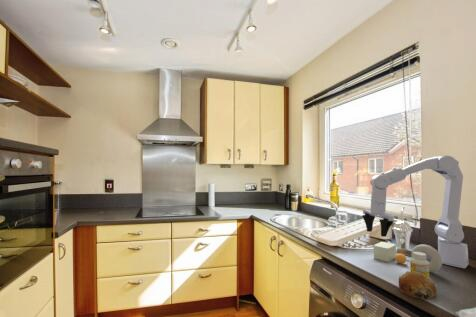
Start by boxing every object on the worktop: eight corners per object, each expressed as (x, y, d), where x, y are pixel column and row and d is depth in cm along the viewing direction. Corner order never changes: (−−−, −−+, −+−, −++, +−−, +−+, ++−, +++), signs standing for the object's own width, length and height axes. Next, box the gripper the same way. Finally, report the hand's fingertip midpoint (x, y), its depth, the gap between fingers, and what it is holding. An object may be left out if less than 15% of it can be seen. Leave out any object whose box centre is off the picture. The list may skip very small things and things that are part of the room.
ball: (408, 263, 106) (407, 253, 106) (404, 266, 104) (404, 256, 104) (397, 261, 109) (396, 251, 110) (393, 263, 107) (393, 253, 107)
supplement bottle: (430, 286, 86) (429, 257, 86) (410, 282, 89) (410, 254, 89) (428, 280, 91) (428, 252, 91) (410, 277, 93) (409, 250, 94)
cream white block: (381, 253, 119) (381, 241, 119) (396, 256, 115) (395, 244, 115) (373, 258, 113) (373, 245, 113) (388, 261, 109) (388, 248, 109)
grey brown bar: (426, 258, 112) (426, 254, 112) (425, 259, 111) (425, 254, 111) (397, 252, 120) (397, 248, 120) (397, 253, 120) (397, 248, 120)
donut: (409, 268, 102) (409, 242, 102) (414, 266, 104) (413, 240, 104) (440, 277, 93) (439, 248, 94) (444, 275, 95) (443, 247, 96)
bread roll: (437, 305, 81) (438, 278, 84) (434, 303, 74) (434, 273, 77) (400, 295, 88) (402, 270, 90) (394, 291, 81) (396, 265, 84)
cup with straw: (388, 248, 126) (387, 207, 126) (401, 246, 129) (400, 206, 130) (405, 254, 118) (404, 209, 119) (418, 251, 121) (417, 208, 122)
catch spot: (417, 259, 112) (417, 258, 112) (413, 262, 108) (413, 262, 108) (401, 255, 116) (401, 255, 116) (397, 258, 112) (397, 258, 112)
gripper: (358, 199, 119) (356, 229, 119) (385, 205, 106) (383, 238, 105) (370, 200, 122) (368, 229, 121) (398, 205, 108) (396, 238, 108)
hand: (376, 233), depth 114 cm, fingers open, 7 cm apart
